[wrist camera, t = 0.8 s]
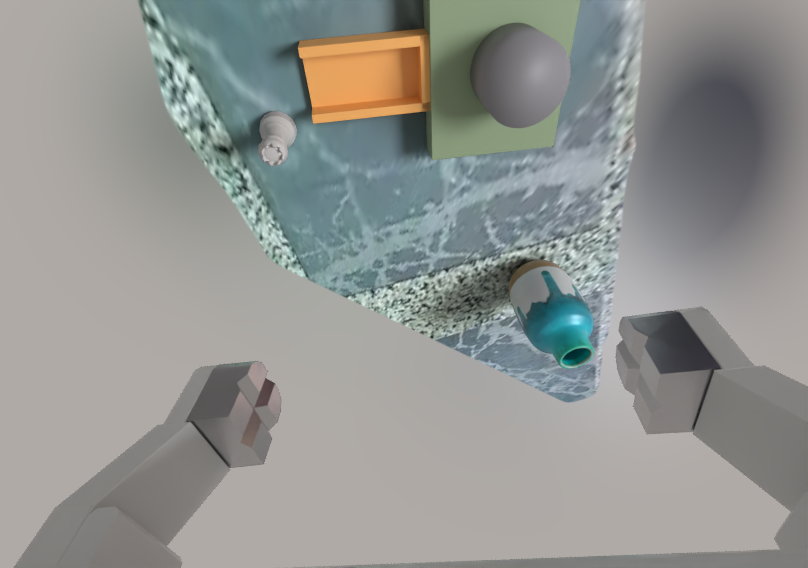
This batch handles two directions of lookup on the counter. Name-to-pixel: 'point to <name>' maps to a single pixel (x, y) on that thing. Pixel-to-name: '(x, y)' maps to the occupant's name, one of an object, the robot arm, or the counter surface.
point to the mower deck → (454, 74)
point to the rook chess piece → (276, 137)
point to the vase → (552, 312)
